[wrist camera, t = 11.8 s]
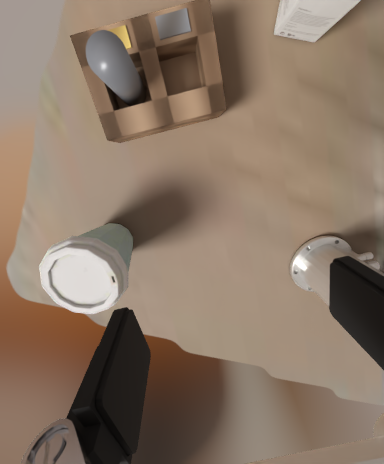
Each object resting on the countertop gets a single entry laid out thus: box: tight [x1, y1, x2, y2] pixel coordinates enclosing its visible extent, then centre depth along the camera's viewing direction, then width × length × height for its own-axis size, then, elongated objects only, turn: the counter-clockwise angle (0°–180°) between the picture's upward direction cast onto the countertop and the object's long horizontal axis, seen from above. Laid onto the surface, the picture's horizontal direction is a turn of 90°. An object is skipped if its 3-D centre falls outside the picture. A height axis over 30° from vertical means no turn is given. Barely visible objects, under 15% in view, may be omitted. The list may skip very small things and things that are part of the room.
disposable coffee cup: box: [39, 223, 133, 314], centre depth 31 cm, size 11×11×15 cm
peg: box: [86, 30, 146, 106], centre depth 23 cm, size 4×4×11 cm
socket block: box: [70, 0, 227, 143], centre depth 27 cm, size 16×11×6 cm
